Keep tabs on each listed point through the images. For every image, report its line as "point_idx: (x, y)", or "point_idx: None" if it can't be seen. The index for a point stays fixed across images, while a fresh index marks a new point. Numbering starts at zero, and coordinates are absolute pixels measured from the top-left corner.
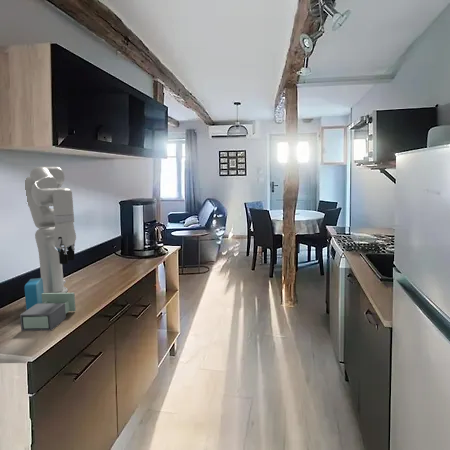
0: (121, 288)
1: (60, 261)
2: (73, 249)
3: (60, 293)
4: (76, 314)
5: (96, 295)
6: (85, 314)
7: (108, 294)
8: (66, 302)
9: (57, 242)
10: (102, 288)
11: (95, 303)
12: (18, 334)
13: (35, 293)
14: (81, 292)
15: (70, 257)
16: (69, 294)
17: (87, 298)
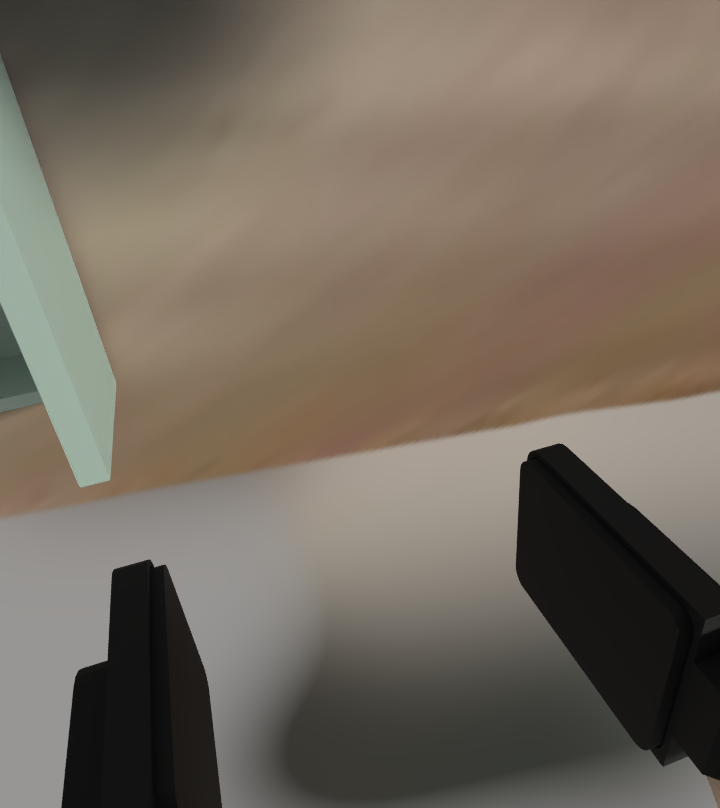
0: (674, 391)
1: (117, 630)
2: (712, 789)
3: (24, 348)
4: None
5: (533, 300)
6: None
7: (548, 379)
8: (3, 409)
9: None
10: (709, 244)
11: (339, 408)
12: None
13: None
14: (635, 102)
15: (551, 562)
16: (64, 443)
17: (460, 269)
